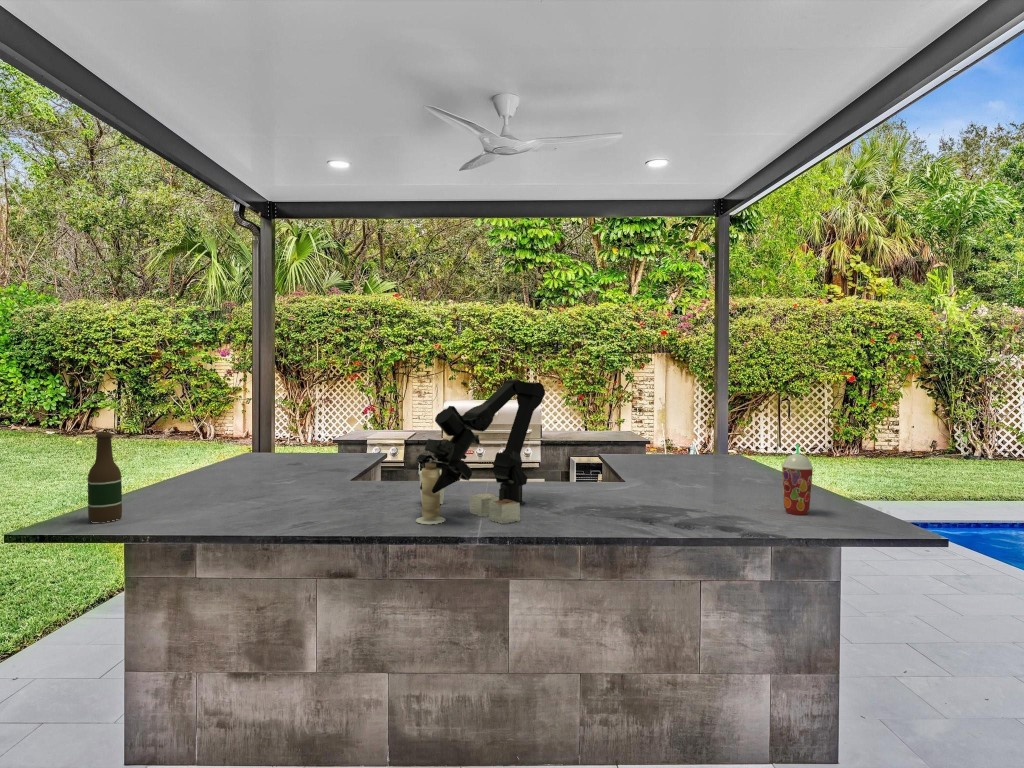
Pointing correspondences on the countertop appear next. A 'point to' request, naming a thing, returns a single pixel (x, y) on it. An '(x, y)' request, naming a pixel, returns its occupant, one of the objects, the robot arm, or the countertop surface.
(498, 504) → the spice tin
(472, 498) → the spice tin
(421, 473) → the white cup
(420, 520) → the coaster
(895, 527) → the countertop surface
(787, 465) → the smoothie
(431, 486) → the pepper mill
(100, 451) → the beer bottle
